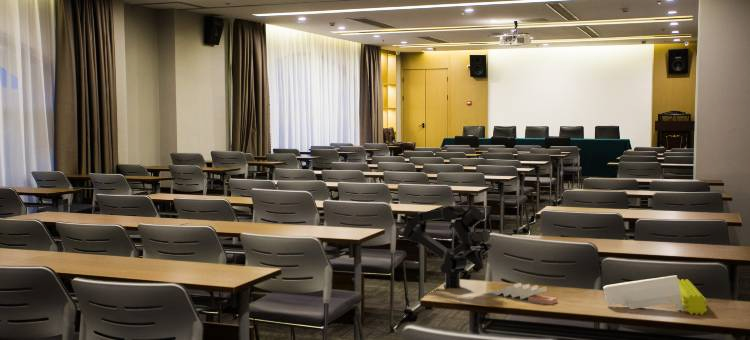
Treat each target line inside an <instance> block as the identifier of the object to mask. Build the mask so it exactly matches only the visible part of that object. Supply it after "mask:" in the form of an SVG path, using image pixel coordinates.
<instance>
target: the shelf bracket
mask: <svg viewBox="0 0 750 340" xmlns="http://www.w3.org/2000/svg"><path fill="white" fill-rule="evenodd" d="M678 279H679V278H678V275H675V274H674V275H668V276H661V277H655V278H647V279H639V280H632V281H625V282H619V283H613V284H607V285H604V286H603V287H602V288H603V292H604V297H605V303H606V305H608V306H613V304H614V305H620V306H623V307H627V308H628V309H630V310H635V309H641V308H642V309H643V308H649V307H655V306H660V305H662V306H663V305H668V304H669V302H673V306H674V307H675V308H676V309H678V310H679V311H681V312H684V309H685V308H684V306H683V304H682V299H681V292H680V287H679V283H678Z"/></svg>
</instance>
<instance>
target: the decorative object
mask: <svg viewBox="0 0 750 340" xmlns="http://www.w3.org/2000/svg"><path fill="white" fill-rule="evenodd" d="M677 279H678V283H679V287H680V292H681V299H682V304H683V309H685V311H686V312H688V313H689V315H691V316H692V315H693V314H694V315H696V316H697V315H701V316H703V315H704V314H705V313H706V312H707V311H708V308H707V306H708V305H707V299H706V298H705V296H703V294H702V293H701V292H700V290H698V288H697V287H696V286H695V285H694V284H693V283H692V282H691V281H690V280H689V279H688V278H687V279H682V278H681V279H680V278H677Z"/></svg>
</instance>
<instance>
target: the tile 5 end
mask: <svg viewBox="0 0 750 340" xmlns="http://www.w3.org/2000/svg"><path fill="white" fill-rule="evenodd" d="M528 301H532V302H538V303H540V304H544V305H546V304H547V305H553V304H554V305H555V304H557V303H558V297H553V296H546V295H540V294H536V295H533V296H529V297H528Z"/></svg>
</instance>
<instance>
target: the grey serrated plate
mask: <svg viewBox="0 0 750 340" xmlns="http://www.w3.org/2000/svg"><path fill="white" fill-rule="evenodd" d="M495 291H496V290H494V291H489V292H487V293H483V294H482V295H483V296H490V297H495V298H502V299H507V300H513V301H517V302H525V303H529V304H536V305H541V303H538V302H532V301H528V298H524V299H520V296H518V297H514V298H512V296H511V295H509V296H505V297H504V295H503V294H499V295H496V293H495Z"/></svg>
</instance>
